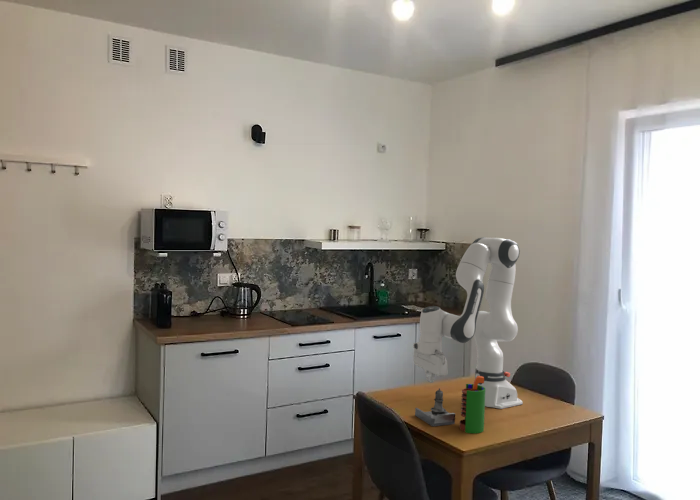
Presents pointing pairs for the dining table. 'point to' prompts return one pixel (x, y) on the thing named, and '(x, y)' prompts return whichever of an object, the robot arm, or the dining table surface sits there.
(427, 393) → the dining table surface
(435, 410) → the grey tall turned piece
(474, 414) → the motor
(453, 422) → the grey open frame
